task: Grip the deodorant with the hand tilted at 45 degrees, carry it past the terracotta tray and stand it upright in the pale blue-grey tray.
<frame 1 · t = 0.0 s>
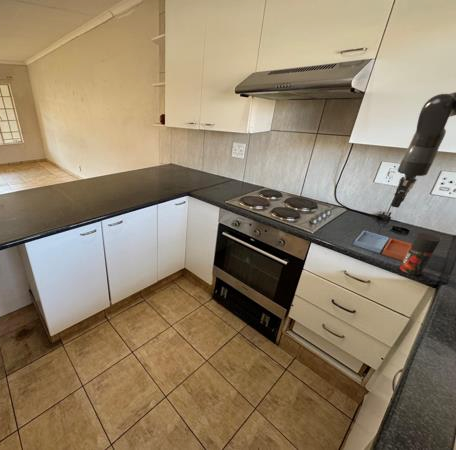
hand: (397, 203, 91), 25 cm above the countertop, tool pointing down, fingers open, 8 cm apart
blue tray: (370, 243, 114), on the countertop
terracotta tray: (399, 252, 107), on the countertop
deodorant: (409, 270, 96), on the countertop
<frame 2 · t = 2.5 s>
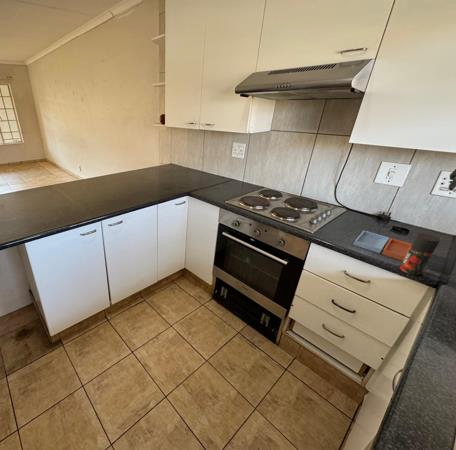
nothing on the countertop moved.
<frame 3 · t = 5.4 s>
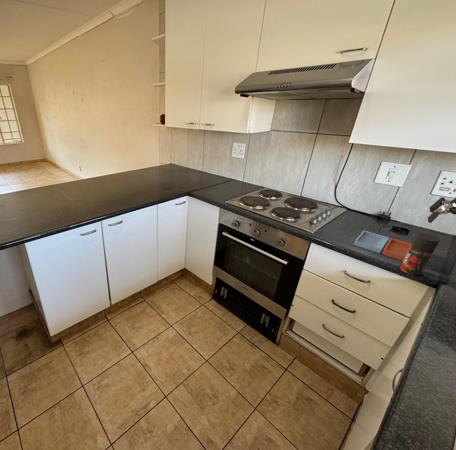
hand: (444, 226, 90), 18 cm above the countertop, tool tilted 45°, fingers open, 8 cm apart
nothing on the countertop moved.
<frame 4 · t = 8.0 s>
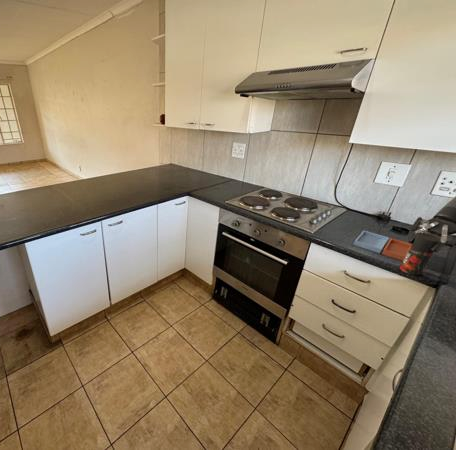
hand: (420, 246, 90), 11 cm above the countertop, tool tilted 45°, fingers closed on deodorant, 6 cm apart
deodorant: (409, 270, 96), on the countertop, touching gripper
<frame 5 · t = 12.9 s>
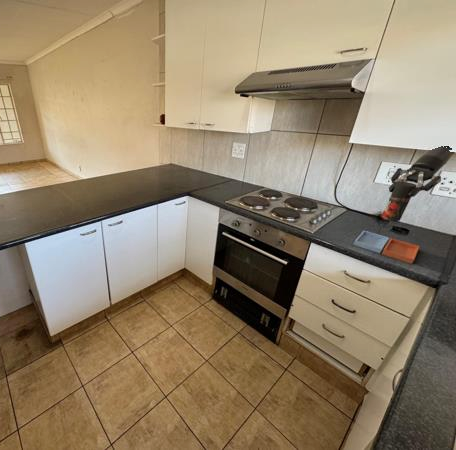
hand: (399, 193, 98), 26 cm above the countertop, tool tilted 45°, fingers closed on deodorant, 6 cm apart
deodorant: (390, 218, 104), point 15 cm above the countertop, touching gripper
when the fingers open (12 cm above the countertop, at t = 17.7 s): deodorant stays where it is, resting on blue tray.
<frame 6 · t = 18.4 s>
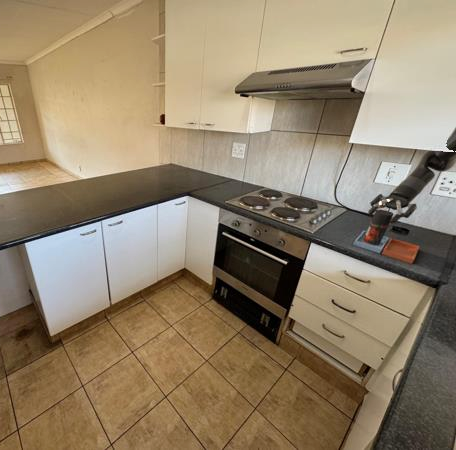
hand: (380, 218, 108), 13 cm above the countertop, tool tilted 45°, fingers open, 8 cm apart
deodorant: (371, 242, 114), resting on blue tray
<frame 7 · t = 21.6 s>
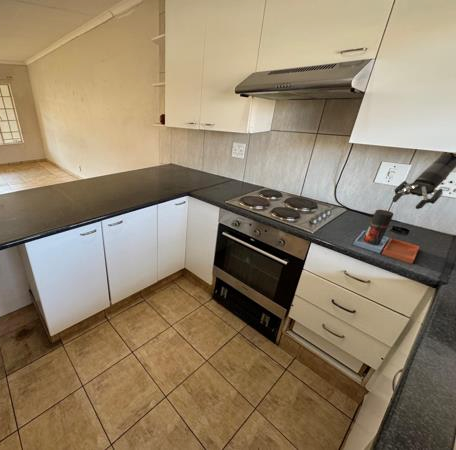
hand: (405, 204, 110), 18 cm above the countertop, tool tilted 45°, fingers open, 8 cm apart
nothing on the countertop moved.
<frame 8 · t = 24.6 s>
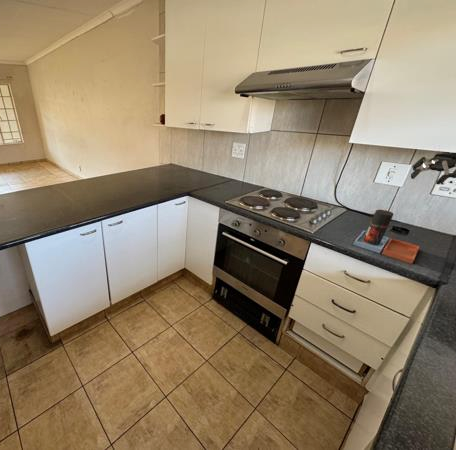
hand: (424, 180, 105), 29 cm above the countertop, tool tilted 45°, fingers open, 8 cm apart
nothing on the countertop moved.
at the end: deodorant inside the target area in the blue tray (0.2 cm from its centre), point 0.4 cm above the blue tray's base; deodorant tilted 0°; the gripper is holding nothing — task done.
